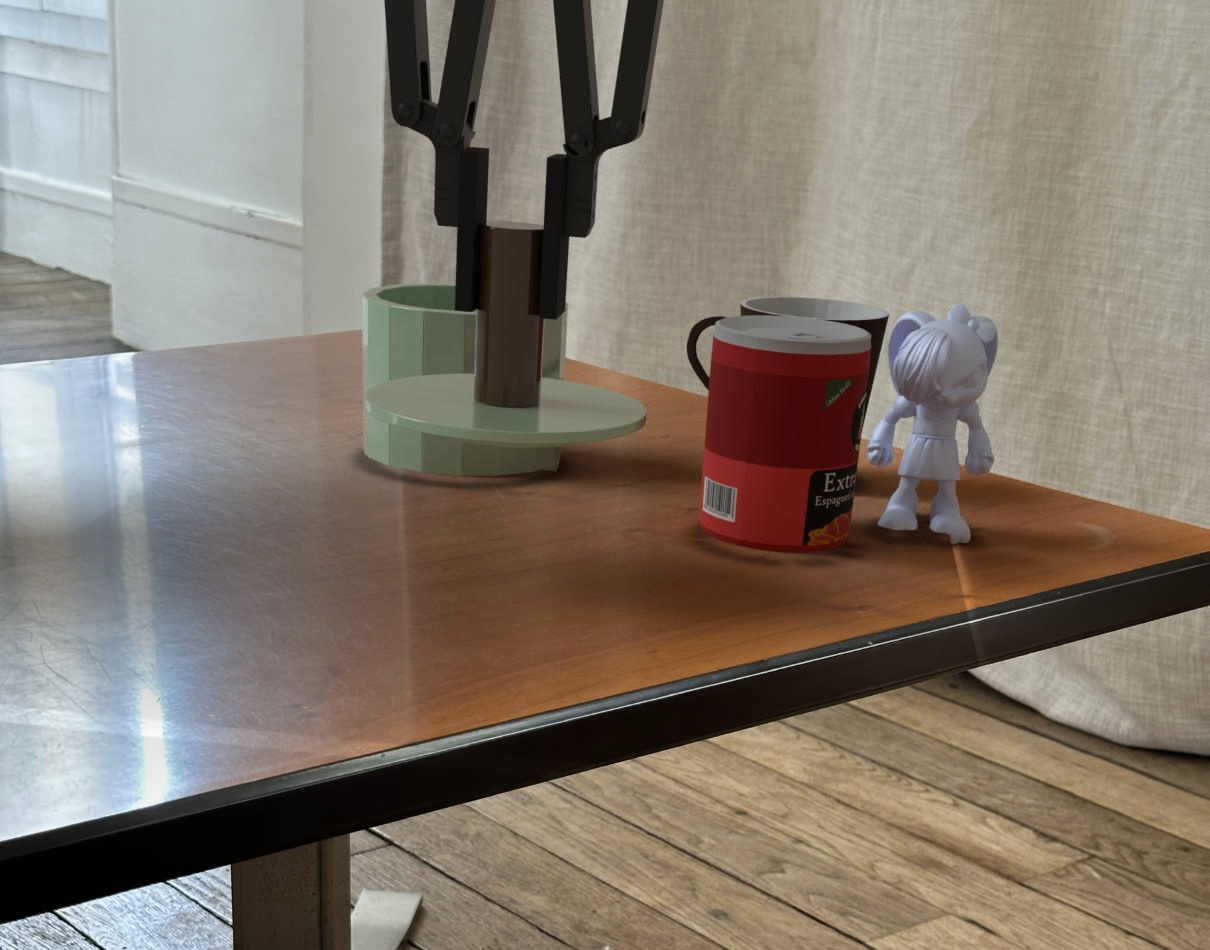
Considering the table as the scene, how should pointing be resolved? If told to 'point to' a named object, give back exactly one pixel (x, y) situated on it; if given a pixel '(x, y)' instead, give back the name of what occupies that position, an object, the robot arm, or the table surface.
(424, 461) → the canister
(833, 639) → the table surface
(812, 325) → the canned food
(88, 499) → the table surface
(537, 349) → the lid
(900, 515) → the toy figurine
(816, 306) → the coffee mug
